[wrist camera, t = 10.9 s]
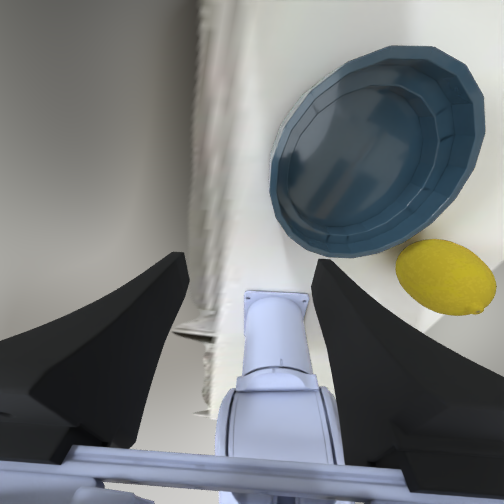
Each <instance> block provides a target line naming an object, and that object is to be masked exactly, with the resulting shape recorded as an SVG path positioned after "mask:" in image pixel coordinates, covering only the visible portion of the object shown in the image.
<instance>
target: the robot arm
mask: <svg viewBox="0 0 504 504" xmlns="http://www.w3.org/2000/svg"><path fill="white" fill-rule="evenodd" d="M189 281H190V279H189V275H188V270H187V265H186V260H185V255H184V253H183V252H172V253H170V254H169V255H167V256H166V257H165V258H163V259H162V260H160V261H159V262H157V263H156V264H155V265H153V266H152V267H150V268H149V269H148V270H146V271H145V272H143V273H142V274H140V275H139V276H137V277H136V278H134V279H133V280H131V281H129V282H128V283H126V284H125V285H123V286H122V287H120V288H118V289H117V290H115V291H113V292H112V293H110V294H108V295H106V296H104V297H102V298H101V299H99V300H97V301H95V302H93V303H91V304H89V305H87V306H85V307H83V308H81V309H78V310H77V311H74V312H72V313H70V314H68V315H66V316H63V317H61V318H59V319H56V320H54V321H52V322H49V323H47V324H44V325H42V326H39V327H37V328H34V329H32V330H29V331H27V332H24V333H21V334H18V335H15V336H13V337H10V338H7V339H4V340H2V341H0V504H155V503H154V501H151V500H147V499H143V498H141V497H138V496H136V495H135V494H134V493H131V492H124V491H118V490H110V489H105V486H104V483H103V482H112V483H125V484H138V485H150V486H162V487H175V488H188V489H201V490H213V491H219V504H355V502H363V503H364V504H504V377H503V376H501V375H499V374H497V373H495V372H493V371H491V370H489V369H487V368H485V367H483V366H481V365H478V364H477V363H475V362H473V361H471V360H469V359H467V358H465V357H463V356H461V355H459V354H458V353H456V352H454V351H452V350H451V349H449V348H447V347H445V346H443V345H442V344H440V343H438V342H436V341H435V340H433V339H431V338H430V337H428V336H426V335H425V334H423V333H422V332H420V331H418V330H417V329H415V328H414V327H412V326H411V325H409V324H407V323H406V322H404V321H403V320H402V319H400V318H399V317H397V316H396V315H394V314H393V313H392V312H390V311H389V310H388V309H386V308H385V307H383V306H382V305H381V304H380V303H378V302H377V301H376V300H375V299H373V298H372V297H371V296H370V295H369V294H367V293H366V292H365V291H364V290H363V289H361V288H360V287H359V286H358V285H357V284H356V283H355V282H354V281H353V280H352V279H351V278H349V277H348V276H347V275H346V274H345V273H344V272H343V271H342V270H341V269H340V268H339V267H338V266H337V265H336V264H335V263H334V262H333V261H332V260H330V259H318V263H317V266H316V270H315V274H314V278H313V281H312V285H311V290H312V297H313V303H314V307H315V310H316V314H317V317H318V320H319V324H320V327H321V330H322V334H323V337H324V340H325V344H326V348H327V352H328V357H329V362H330V367H331V372H332V378H333V384H334V389H335V395H336V399H335V397H334V395H333V394H332V393H331V392H330V391H329V390H328V389H327V388H326V387H325V386H318V381H317V376H316V375H315V374H313V370H312V365H311V360H310V354H309V349H308V344H307V338H306V333H305V328H304V323H303V320H304V316H305V313H306V309H307V305H308V302H309V295H308V294H299V293H280V292H261V291H246V292H245V294H244V336H245V347H244V359H243V371H242V376H240V377H237V383H236V388H232V389H230V390H229V391H228V393H227V395H226V396H225V397H224V399H223V401H222V403H221V406H220V409H219V414H218V419H217V425H216V435H215V455H201V454H188V453H175V452H161V451H148V450H135V449H129V448H130V447H132V445H133V444H134V443H135V442H136V439H137V435H138V430H139V427H140V423H141V419H142V415H143V411H144V407H145V404H146V400H147V397H148V393H149V390H150V386H151V383H152V380H153V376H154V373H155V370H156V367H157V364H158V360H159V358H160V355H161V352H162V349H163V345H164V343H165V340H166V338H167V335H168V333H169V331H170V329H171V326H172V324H173V322H174V320H175V318H176V316H177V313H178V311H179V309H180V307H181V305H182V302H183V300H184V298H185V295H186V292H187V289H188V285H189ZM248 297H250V298H248ZM303 300H304V301H303Z"/></svg>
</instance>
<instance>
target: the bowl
mask: <svg viewBox="0 0 504 504" xmlns="http://www.w3.org/2000/svg"><path fill="white" fill-rule="evenodd" d="M484 135H485V111H484V96H483V94H482V92H481V90H480V89H479V87H478V85H477V83H476V81H475V80H474V78H473V76H472V74H471V73H470V71H469V69H468V67H467V66H466V65H465V64H464V63H462V62H460V61H459V60H457V59H455V58H453V57H452V56H450V55H448V54H446V53H445V52H443V51H441V50H439V49H437V48H436V47H432V46H398V45H392V46H388V47H385V48H382V49H380V50H377V51H375V52H372V53H369V54H367V55H364V56H361V57H359V58H356V59H354V60H351V61H348V62H347V63H345V64H343V65H342V66H340V67H339V68H337V69H335V70H334V71H332V72H331V73H329V74H328V75H327V76H325V77H324V78H323V79H322V80H320V81H319V82H318V83H316V84H315V85H314V86H313V87H311V88H310V89H309V90H308V91H306V92H305V93H304V94H303V95H302V96H301V97H300V98H299V100H298V101H297V102H296V104H295V105H294V107H293V108H292V109H291V111H290V112H289V114H288V115H287V116H286V118H285V119H284V121H283V122H282V124H281V126H280V128H279V131H278V134H277V136H276V139H275V142H274V145H273V147H272V150H271V154H270V165H269V193H270V197H271V201H272V205H273V209H274V213H275V217H276V219H277V220H278V222H279V223H280V225H281V226H282V228H283V229H284V230H285V232H286V233H287V235H288V236H289V237H290V238H291V239H292V240H294V241H295V242H296V243H298V244H299V245H301V246H302V247H303V248H305V249H306V250H308V251H311V252H314V253H317V254H320V255H323V256H326V257H335V258H356V257H362V256H367V255H372V254H377V253H380V252H382V251H385V250H387V249H389V248H392V247H394V246H397V245H399V244H401V243H404V242H406V241H407V240H408V239H410V238H411V237H413V236H414V235H416V234H417V233H419V232H420V231H422V230H423V229H425V228H426V227H428V226H429V225H430V224H432V223H433V222H434V221H435V220H436V219H437V218H438V217H439V215H440V214H441V213H442V212H443V211H444V210H445V209H446V208H447V207H448V206H449V205H450V204H451V203H452V202H453V201H454V200H455V199H456V197H457V196H458V194H459V193H460V191H461V189H462V188H463V186H464V184H465V183H466V181H467V180H468V178H469V176H470V175H471V173H472V172H473V170H474V168H475V165H476V162H477V159H478V155H479V152H480V149H481V145H482V142H483V139H484Z"/></svg>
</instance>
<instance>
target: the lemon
mask: <svg viewBox="0 0 504 504" xmlns="http://www.w3.org/2000/svg"><path fill="white" fill-rule="evenodd" d="M396 275H397V277H398V280H399V282H400V284H401V286H402V287H403V288H404V290H405V291H406V292H407V293H408V294H409V295H410V296H411V297H412V298H413V299H415V300H416V301H417V302H418V303H420V304H421V305H423V306H424V307H426V308H428V309H430V310H432V311H435V312H437V313H441V314H446V315H454V316H462V315H469V314H480V313H482V312H483V311H484V308H485V307H487V306H488V305H489V304H490V303H491V301H492V300H493V298H494V296H495V293H496V281H495V278H494V275H493V273H492V272H491V270H490V269H489V268H488V266H487V265H486V264H485V263H484V262H483V261H482V260H481V259H480V258H479V257H478V256H477V255H475V254H474V253H473V252H472V251H470V250H468V249H467V248H465V247H463V246H461V245H458V244H456V243H453V242H450V241H446V240H439V239H429V240H422V241H418V242H415V243H413V244H411V245H409V246H408V247H406V248H405V249H404V250H403V251H402V252H401V253H400V255H399V256H398V258H397V261H396Z"/></svg>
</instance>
